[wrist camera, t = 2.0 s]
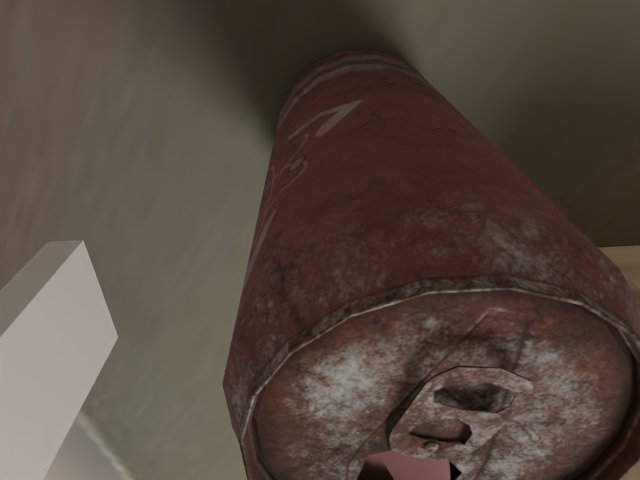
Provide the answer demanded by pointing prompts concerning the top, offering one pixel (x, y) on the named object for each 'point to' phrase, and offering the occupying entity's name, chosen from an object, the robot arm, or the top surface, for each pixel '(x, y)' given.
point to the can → (422, 302)
